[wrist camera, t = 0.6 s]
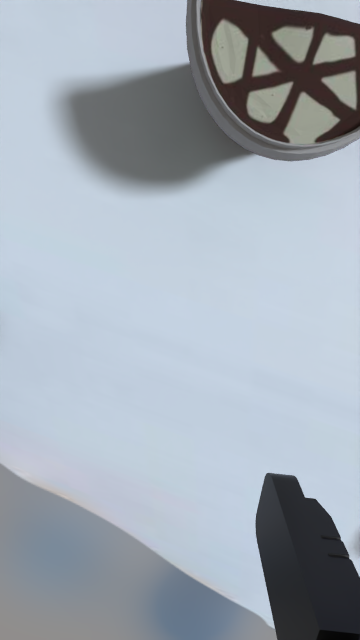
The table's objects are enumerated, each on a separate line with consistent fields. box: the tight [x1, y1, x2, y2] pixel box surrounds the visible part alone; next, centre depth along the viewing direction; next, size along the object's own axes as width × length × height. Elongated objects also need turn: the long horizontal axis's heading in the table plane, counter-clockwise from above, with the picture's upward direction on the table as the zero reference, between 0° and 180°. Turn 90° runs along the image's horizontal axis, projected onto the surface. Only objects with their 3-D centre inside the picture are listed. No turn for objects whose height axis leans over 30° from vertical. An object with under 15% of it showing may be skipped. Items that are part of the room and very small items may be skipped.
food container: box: [186, 0, 360, 161], centre depth 20 cm, size 12×6×10 cm, turn 81°
